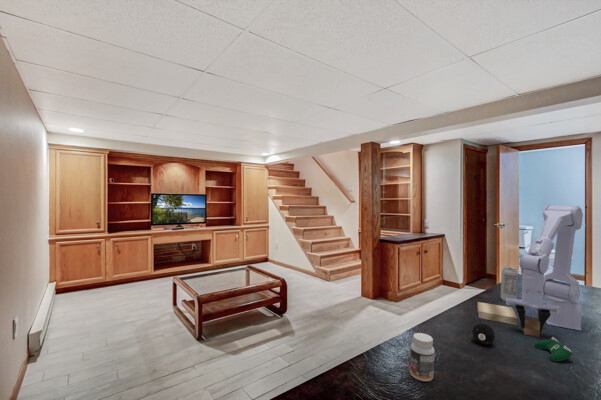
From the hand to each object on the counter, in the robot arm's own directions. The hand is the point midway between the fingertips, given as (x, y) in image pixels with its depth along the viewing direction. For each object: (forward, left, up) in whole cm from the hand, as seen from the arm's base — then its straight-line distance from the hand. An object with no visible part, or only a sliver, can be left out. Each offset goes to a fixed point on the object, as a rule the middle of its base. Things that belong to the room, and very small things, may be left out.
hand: (530, 329), depth 102 cm
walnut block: (0, 0, -1) cm, 1 cm away
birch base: (+9, -12, -2) cm, 15 cm away
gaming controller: (-3, +14, -2) cm, 15 cm away
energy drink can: (+2, -36, -2) cm, 36 cm away
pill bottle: (+30, +46, -2) cm, 55 cm away
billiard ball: (+15, +17, -2) cm, 23 cm away
